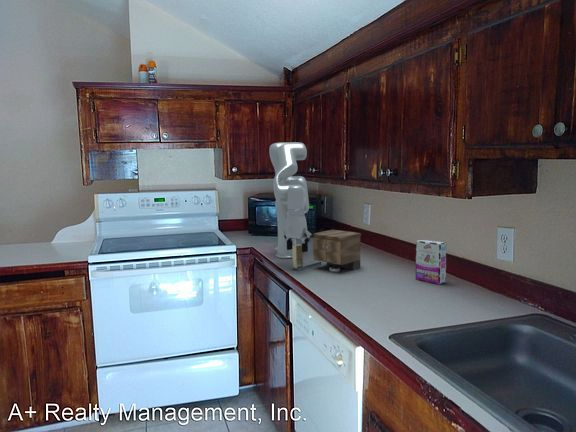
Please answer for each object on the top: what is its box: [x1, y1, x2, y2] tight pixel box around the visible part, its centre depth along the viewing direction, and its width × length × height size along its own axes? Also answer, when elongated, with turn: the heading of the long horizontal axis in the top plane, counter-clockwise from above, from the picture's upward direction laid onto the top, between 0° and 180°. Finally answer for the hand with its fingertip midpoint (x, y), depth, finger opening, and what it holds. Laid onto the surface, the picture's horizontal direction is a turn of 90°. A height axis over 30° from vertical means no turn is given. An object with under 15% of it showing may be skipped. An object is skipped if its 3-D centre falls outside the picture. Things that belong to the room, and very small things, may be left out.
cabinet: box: [312, 229, 362, 271], centre depth 197 cm, size 17×16×16 cm
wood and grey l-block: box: [292, 243, 322, 271], centre depth 201 cm, size 4×16×12 cm, turn 134°
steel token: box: [329, 266, 342, 273], centre depth 194 cm, size 5×5×2 cm
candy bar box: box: [415, 239, 447, 285], centre depth 173 cm, size 11×5×16 cm, turn 40°
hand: (297, 250), depth 196 cm, fingers open, 9 cm apart
